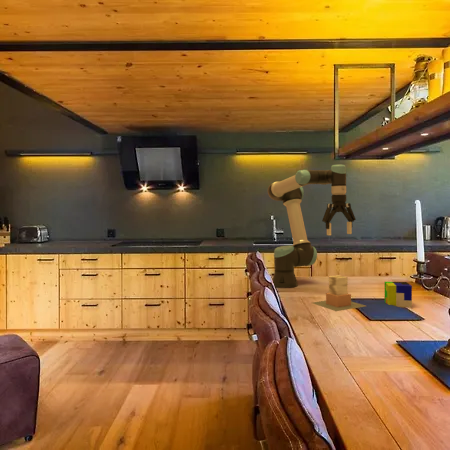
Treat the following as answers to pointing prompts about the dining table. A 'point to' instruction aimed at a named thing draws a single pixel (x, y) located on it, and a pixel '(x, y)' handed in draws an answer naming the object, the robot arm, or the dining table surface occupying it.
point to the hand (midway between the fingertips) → (339, 234)
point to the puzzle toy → (398, 294)
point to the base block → (338, 300)
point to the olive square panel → (353, 305)
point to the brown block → (338, 285)
